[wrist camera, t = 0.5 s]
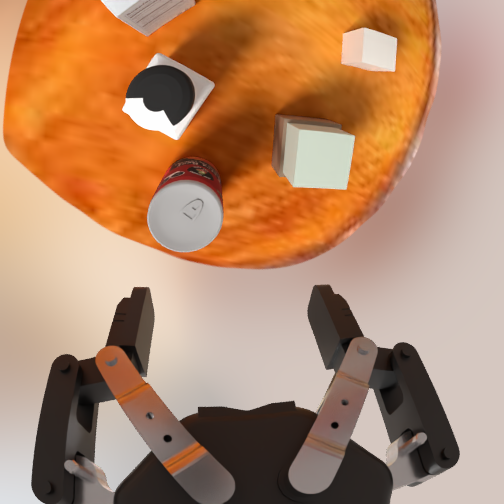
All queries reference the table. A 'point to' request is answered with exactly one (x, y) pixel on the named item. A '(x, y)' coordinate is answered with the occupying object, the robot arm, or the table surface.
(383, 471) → the robot arm
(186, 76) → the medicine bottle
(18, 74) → the table surface
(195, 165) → the canned food
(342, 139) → the sage block
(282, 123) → the walnut base block
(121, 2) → the supplement box
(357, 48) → the cream block
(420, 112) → the table surface
